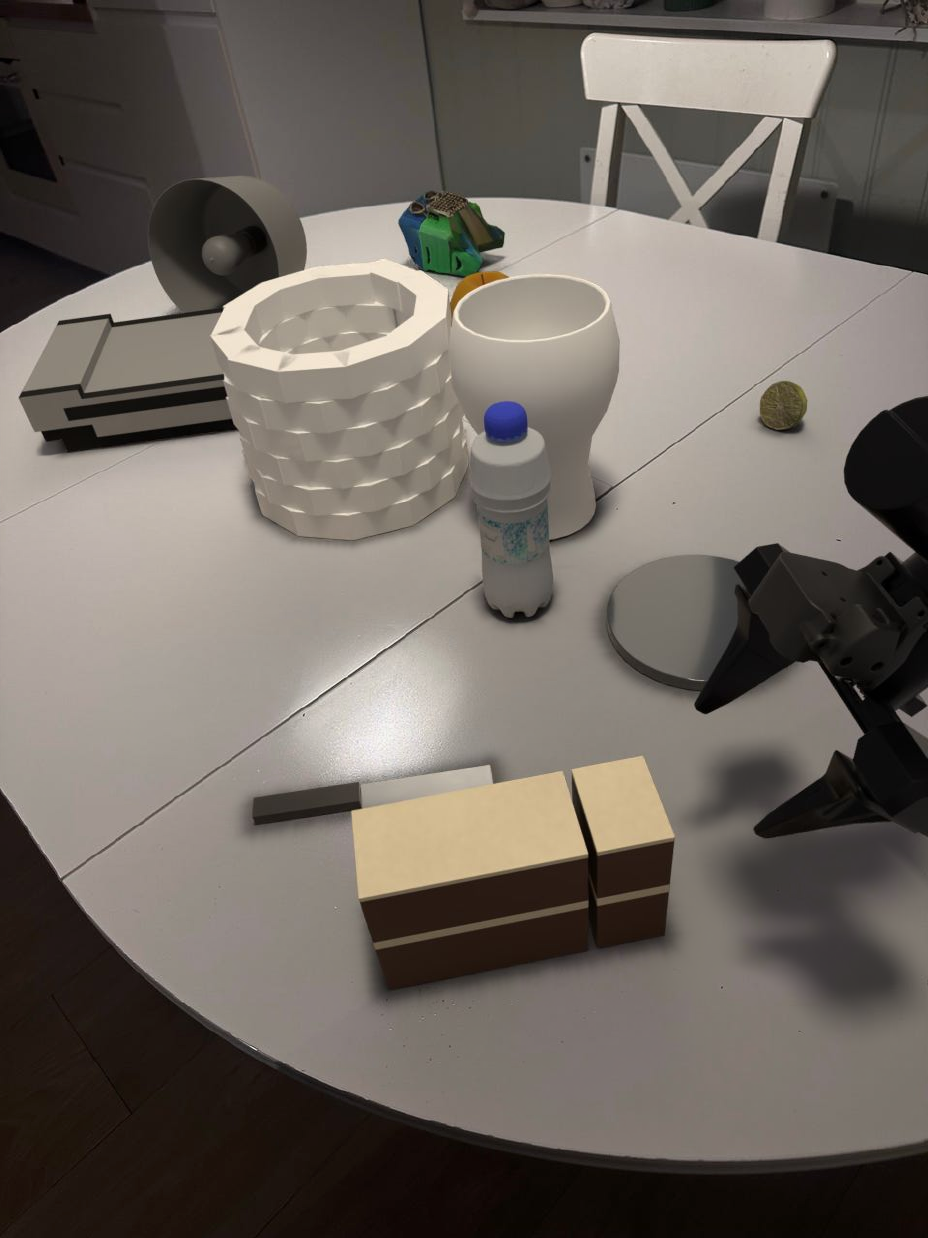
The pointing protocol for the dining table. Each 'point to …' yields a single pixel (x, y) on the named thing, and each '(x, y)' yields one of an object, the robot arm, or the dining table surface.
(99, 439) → the game console
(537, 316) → the white vase
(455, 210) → the sculpture
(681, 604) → the plate
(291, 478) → the basket
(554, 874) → the cake
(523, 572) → the bottle
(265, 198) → the light fixture
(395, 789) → the cake knife
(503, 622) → the dining table surface
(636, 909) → the cake slice
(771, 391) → the lime
